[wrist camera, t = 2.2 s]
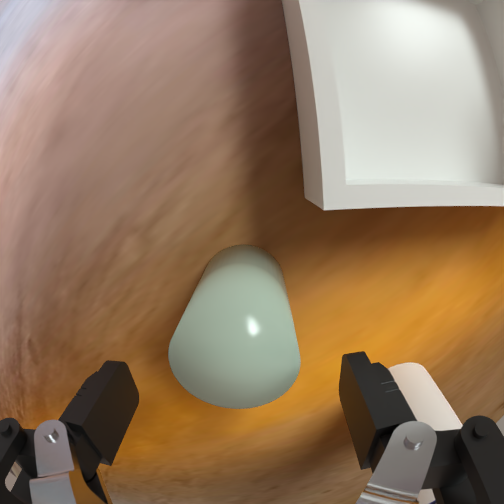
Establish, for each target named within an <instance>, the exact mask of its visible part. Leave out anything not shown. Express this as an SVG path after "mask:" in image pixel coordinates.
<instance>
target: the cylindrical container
mask: <svg viewBox="0 0 504 504" xmlns="http://www.w3.org/2000/svg"><path fill="white" fill-rule="evenodd" d="M388 370H389V371H390V373H391V374H392V376H393V378H394V380H395V382H396V383H397V385H398V387H399V390H401V392H402V394H403V396H404V397H405V399H406V401H407V403H408V405H409V406H410V408H411V410H412V412H413V414H414V416H415V418H416V419H417V421H420V422H424V423H426V424H428V425H429V426H431V427H432V428H433V429H434V430H435V431H444V430H454V429H461V427H462V426H463V425H462V424H461V422H460V421H459V419H458V417H457V416H456V414H455V413H454V411H453V410H452V408H451V406H450V405H449V403H448V402H447V400H446V399H445V397H444V396H443V394H442V393H441V391H440V390H439V388H438V387H437V385H436V384H435V382H434V381H433V379H432V378H431V376H430V375H429V374H428V372H427V371H426V369H425V368H424V367H423V366H422V365H420V364H418V363H403V364H398V365H395V366H393V367H390V368H388ZM417 501H419V504H436V500H435V497H434V494H433V491H432V489H423V490H420V493H419V495H418V498H417Z"/></svg>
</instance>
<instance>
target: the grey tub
mask: <svg viewBox="0 0 504 504" xmlns="http://www.w3.org/2000/svg"><path fill="white" fill-rule="evenodd" d="M282 5H283V11H284V17H285V23H286V29H287V35H288V41H289V48H290V55H291V62H292V69H293V77H294V85H295V93H296V102H297V111H298V121H299V131H300V142H301V153H302V166H303V179H304V194H305V198H306V199H307V200H309V201H310V202H312V203H314V204H315V205H317V206H318V207H320V208H321V209H323V210H339V209H359V208H384V207H417V206H504V0H282Z"/></svg>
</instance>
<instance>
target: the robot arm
mask: <svg viewBox="0 0 504 504" xmlns="http://www.w3.org/2000/svg"><path fill="white" fill-rule="evenodd" d="M339 396H340V401H341V404H342V408H343V411H344V414H345V417H346V421H347V424H348V427H349V430H350V434H351V437H352V440H353V444H354V447H355V451H356V454H357V458H358V461H359V465H360V468H361V470H362V469H366V468H370V467H371V469H372V473H373V475H372V477H371V479H370V481H369V482H368V484H367V486H366V488H365V489H364V491H363V493H362V494H361V496H360V498H359V499H358V501H357V502H356V504H419V501H417V498H418V495H419V493H420V490H423V489H432V491H433V494H434V497H435V500H436V504H504V436H503V435H502V433H501V431H500V430H499V428H498V427H497V425H496V423H495V422H494V421H493V420H492V419H490V418H488V417H485V416H474V417H471V418H469V419H468V420H466V422H465V423H464V424H463V426H462V427H461V429H454V430H444V431H435V430H434V429H433V428H432V427H431V426H429V425H428V424H426V423H424V422H420V421H417V419H416V418H415V416H414V414H413V412H412V410H411V408H410V406H409V405H408V403H407V401H406V399H405V397H404V396H403V394H402V392H401V390H399V387H398V385H397V383H396V382H395V380H394V378H393V376H392V374H391V373H390V371H389V370H388V369H387V368H386V367H384V366H383V365H382V364H380V363H379V362H378V363H373V364H371V363H370V361H369V359H368V357H367V355H366V353H365V352H364V351H362V352H356V353H349V354H344V355H343V357H342V364H341V373H340V381H339ZM138 403H139V393H138V390H137V387H136V385H135V382H134V380H133V378H132V375H131V373H130V370H129V368H128V365H127V364H126V363H125V362H120V361H109V360H108V361H106V362H105V363H104V364H103V365H102V367H101V368H100V370H99V371H98V372H97V371H96V372H95V373H94V374H92V375H91V376H90V377H88V378H87V379H86V381H85V382H84V383H83V385H82V386H81V389H79V391H78V392H77V393H76V396H74V398H73V399H72V401H71V402H70V404H69V405H68V406H67V408H66V409H65V411H64V412H63V414H62V415H61V417H60V418H59V420H48V421H45V422H43V423H42V424H40V425H39V426H38V427H37V429H36V430H33V429H23V428H22V427H21V426H20V424H19V423H18V421H17V420H16V419H14V418H5V419H3V420H1V421H0V504H113V503H112V501H111V498H110V496H109V494H108V491H107V489H106V486H105V483H104V481H103V478H102V475H101V472H100V470H99V469H98V466H99V464H100V463H102V464H106V465H110V466H111V465H112V463H113V460H114V458H115V456H116V453H117V451H118V449H119V446H120V444H121V442H122V440H123V437H124V435H125V433H126V430H127V428H128V426H129V424H130V421H131V419H132V417H133V415H134V413H135V410H136V408H137V406H138ZM14 462H16V463H17V464H18V465H19V466H20V467H21V468H22V471H21V472H20V474H19V476H18V478H17V480H16V482H15V484H14V486H13V488H12V490H11V492H10V491H9V490H8V489H7V488H6V486H5V478H6V476H7V475H8V473H9V471H10V469H11V467H12V465H13V464H14Z"/></svg>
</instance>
